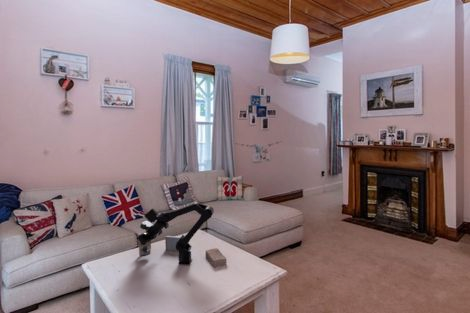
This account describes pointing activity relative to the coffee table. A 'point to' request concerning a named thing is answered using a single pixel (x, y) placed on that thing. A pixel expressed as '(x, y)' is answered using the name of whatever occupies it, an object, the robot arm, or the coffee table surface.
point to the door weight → (144, 250)
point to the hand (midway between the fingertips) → (142, 243)
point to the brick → (216, 257)
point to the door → (147, 246)
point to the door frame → (171, 242)
